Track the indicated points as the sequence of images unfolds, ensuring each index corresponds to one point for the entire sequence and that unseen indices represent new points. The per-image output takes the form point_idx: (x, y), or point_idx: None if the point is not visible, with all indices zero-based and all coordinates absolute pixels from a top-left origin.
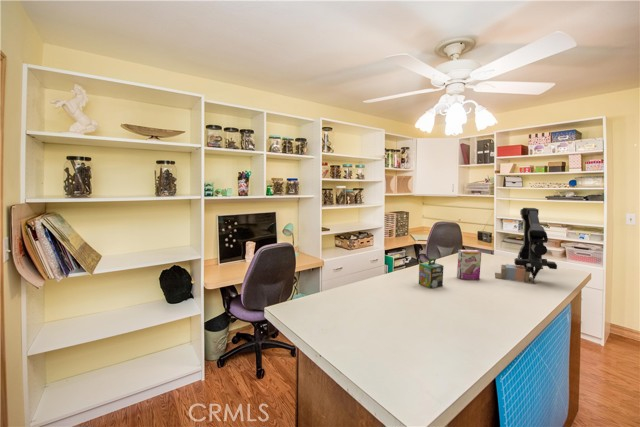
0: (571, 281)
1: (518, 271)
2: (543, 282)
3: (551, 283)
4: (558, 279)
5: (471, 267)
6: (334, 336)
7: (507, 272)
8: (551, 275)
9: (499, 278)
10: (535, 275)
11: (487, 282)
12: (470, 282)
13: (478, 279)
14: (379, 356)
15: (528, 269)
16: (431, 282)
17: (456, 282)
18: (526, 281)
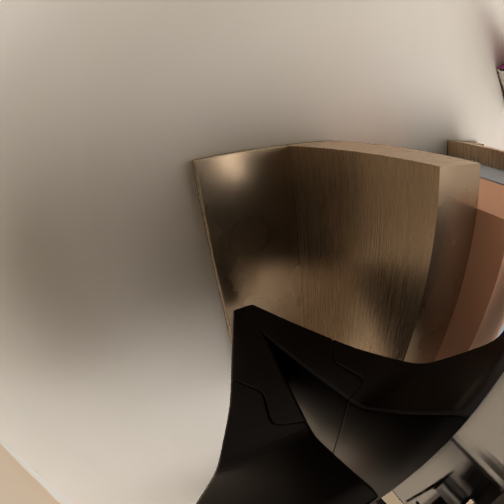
0: (27, 453)
1: (493, 190)
2: (119, 320)
3: (48, 341)
4: (87, 458)
5: None
6: None
7: (500, 172)
8: (154, 486)
9: (468, 142)
10: (245, 341)
11: (474, 29)
12: (491, 19)
13: (498, 68)
14: None
15: None
16: None
17: (500, 14)
18: (320, 141)
